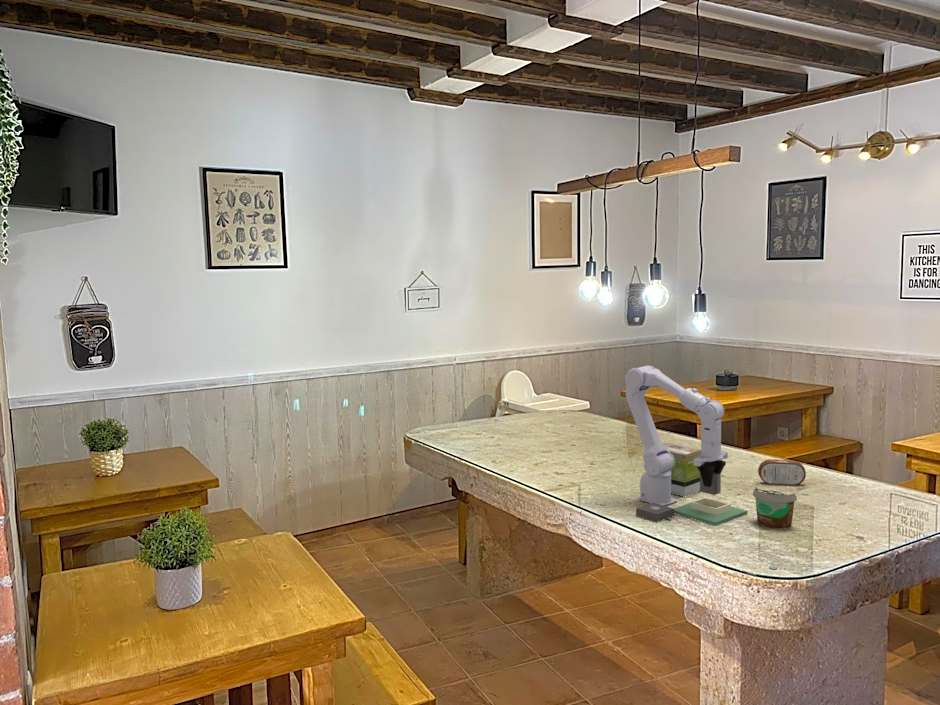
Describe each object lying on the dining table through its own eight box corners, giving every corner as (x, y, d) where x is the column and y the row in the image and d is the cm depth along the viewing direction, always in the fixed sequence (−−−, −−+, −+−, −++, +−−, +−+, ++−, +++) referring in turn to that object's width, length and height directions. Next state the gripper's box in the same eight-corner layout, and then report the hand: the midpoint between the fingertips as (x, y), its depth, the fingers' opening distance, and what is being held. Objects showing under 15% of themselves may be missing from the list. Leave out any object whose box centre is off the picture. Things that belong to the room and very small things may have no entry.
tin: (804, 484, 251) (805, 460, 250) (806, 486, 248) (806, 462, 247) (757, 482, 255) (758, 458, 255) (758, 484, 252) (759, 460, 252)
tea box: (647, 488, 251) (646, 446, 250) (664, 482, 258) (664, 441, 256) (685, 498, 240) (685, 453, 238) (702, 491, 246) (702, 448, 245)
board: (670, 512, 226) (670, 503, 226) (702, 501, 235) (702, 492, 235) (715, 525, 213) (715, 515, 213) (747, 513, 223) (747, 504, 222)
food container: (745, 523, 214) (745, 490, 213) (754, 518, 219) (754, 485, 218) (787, 533, 206) (788, 498, 205) (796, 527, 210) (797, 493, 209)
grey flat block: (636, 515, 224) (636, 507, 224) (653, 510, 229) (653, 502, 228) (662, 524, 216) (662, 515, 216) (680, 518, 221) (680, 509, 220)
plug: (699, 491, 226) (700, 472, 225) (705, 489, 227) (705, 470, 227) (715, 495, 221) (716, 476, 220) (721, 493, 223) (722, 474, 222)
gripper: (707, 447, 215) (707, 492, 216) (736, 439, 224) (736, 483, 225) (687, 443, 221) (687, 487, 222) (716, 436, 229) (716, 478, 231)
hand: (710, 485), depth 224 cm, fingers closed on plug, 3 cm apart
